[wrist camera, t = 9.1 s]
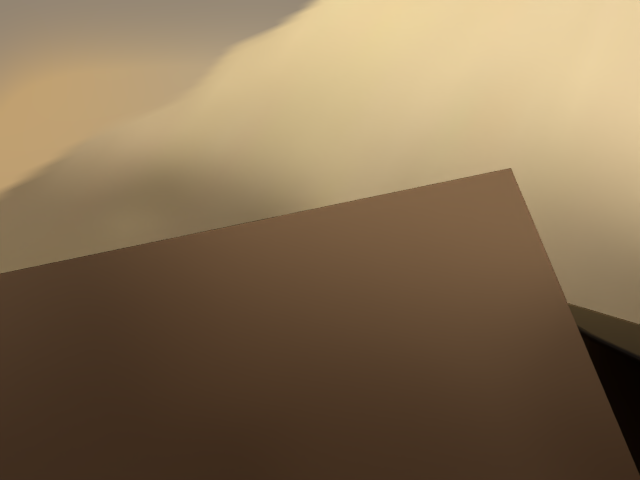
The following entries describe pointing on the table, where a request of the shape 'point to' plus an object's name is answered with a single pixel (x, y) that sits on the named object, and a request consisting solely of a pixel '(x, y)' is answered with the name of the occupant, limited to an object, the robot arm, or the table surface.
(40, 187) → the table surface
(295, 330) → the open wooden box
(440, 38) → the table surface
